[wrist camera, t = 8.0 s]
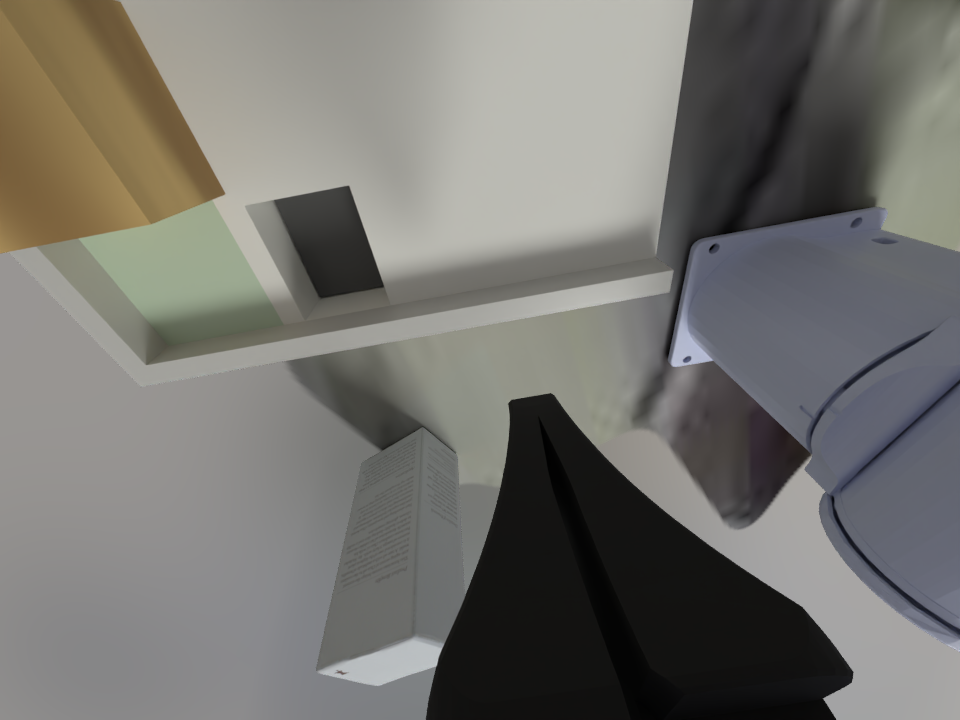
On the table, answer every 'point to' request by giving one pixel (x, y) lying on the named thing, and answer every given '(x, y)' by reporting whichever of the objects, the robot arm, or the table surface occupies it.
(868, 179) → the table surface
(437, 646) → the skincare box
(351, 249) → the trap box
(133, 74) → the ochre block
